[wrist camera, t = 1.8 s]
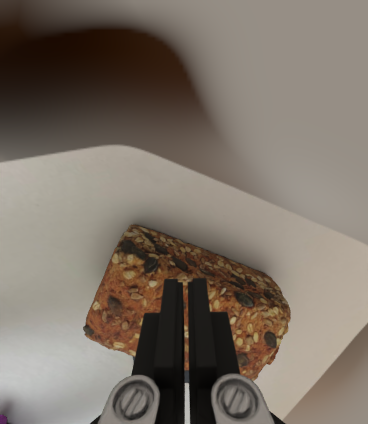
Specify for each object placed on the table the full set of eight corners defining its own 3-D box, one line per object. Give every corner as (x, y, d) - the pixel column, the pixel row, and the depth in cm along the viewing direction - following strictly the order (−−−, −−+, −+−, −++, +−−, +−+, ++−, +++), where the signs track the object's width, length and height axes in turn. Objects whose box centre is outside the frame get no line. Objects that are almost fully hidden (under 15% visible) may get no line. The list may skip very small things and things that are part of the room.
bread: (102, 286, 33) (69, 353, 24) (132, 212, 30) (108, 258, 20) (235, 334, 36) (252, 412, 26) (276, 272, 32) (313, 336, 23)
